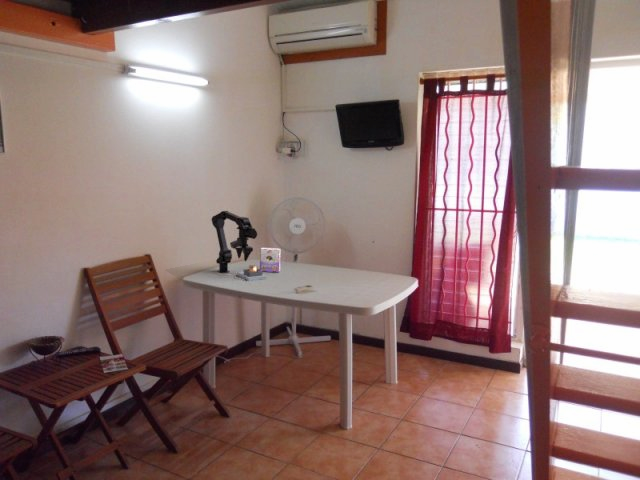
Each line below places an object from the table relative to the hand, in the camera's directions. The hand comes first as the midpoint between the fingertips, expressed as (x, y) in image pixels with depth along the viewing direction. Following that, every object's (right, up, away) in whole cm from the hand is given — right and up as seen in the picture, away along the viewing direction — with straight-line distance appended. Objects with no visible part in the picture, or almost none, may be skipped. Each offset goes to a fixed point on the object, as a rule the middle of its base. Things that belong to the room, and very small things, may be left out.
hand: (242, 259), depth 332 cm
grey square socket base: (+6, -12, +1) cm, 13 cm away
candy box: (+17, -9, +20) cm, 28 cm away
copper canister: (+7, -12, -1) cm, 14 cm away
